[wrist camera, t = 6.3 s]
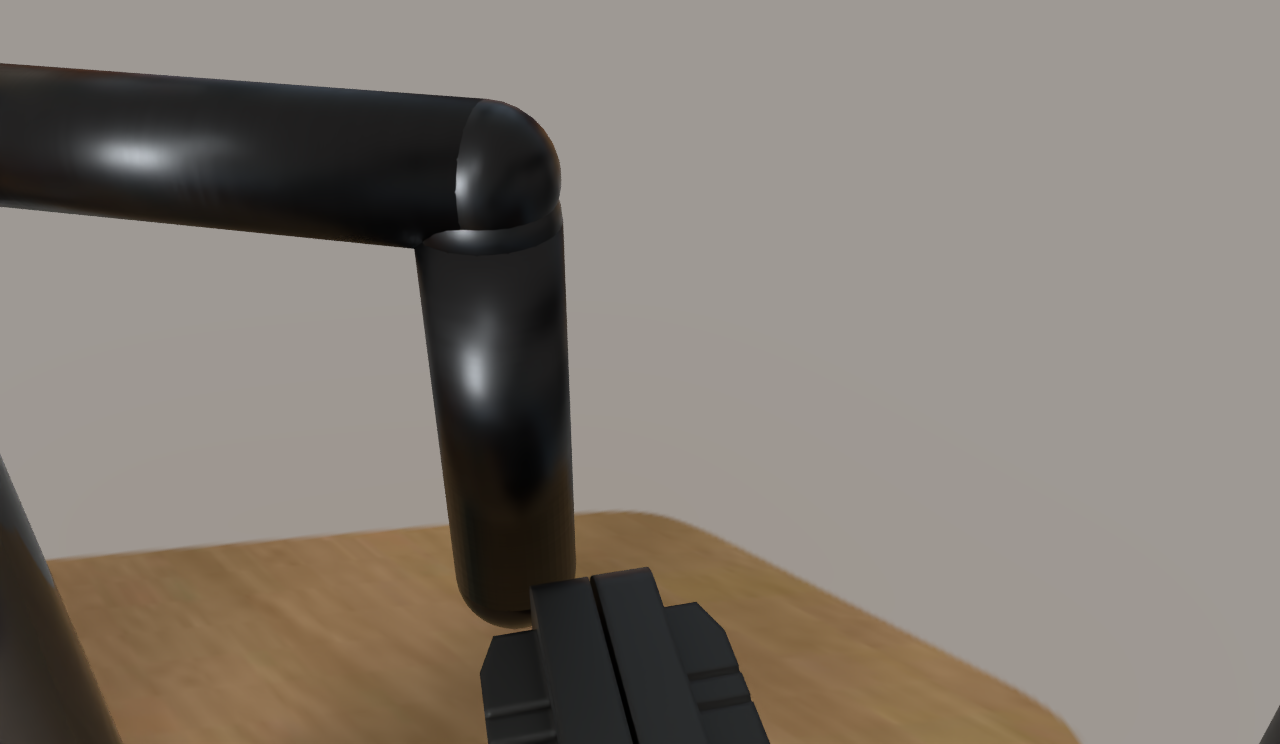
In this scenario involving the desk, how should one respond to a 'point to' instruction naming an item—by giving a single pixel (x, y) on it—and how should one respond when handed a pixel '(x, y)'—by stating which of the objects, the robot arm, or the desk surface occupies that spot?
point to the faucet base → (41, 647)
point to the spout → (370, 214)
